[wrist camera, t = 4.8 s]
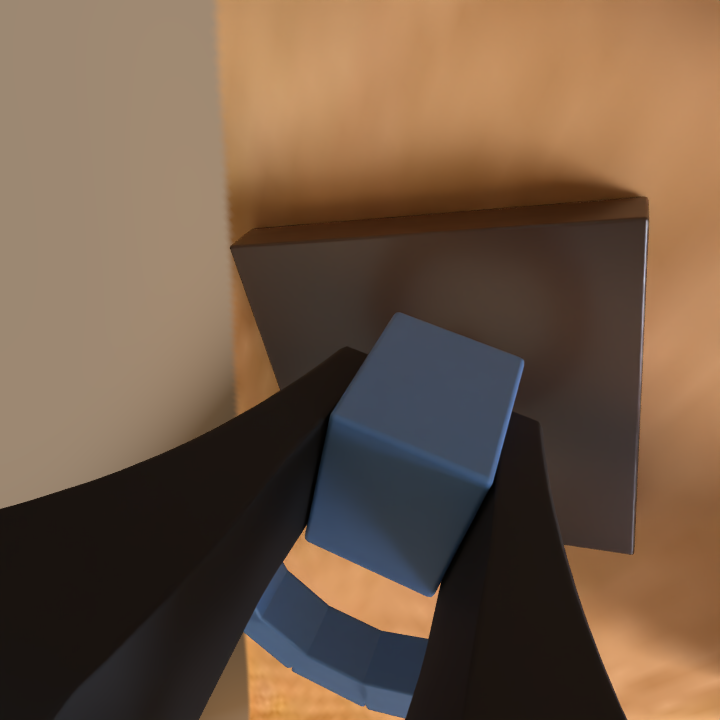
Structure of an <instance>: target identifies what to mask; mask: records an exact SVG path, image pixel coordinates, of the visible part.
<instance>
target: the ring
mask: <svg viewBox="0 0 720 720" xmlns="http://www.w3.org/2000/svg"><path fill="white" fill-rule="evenodd" d="M523 368H524V360H523V359H522V358H520V357H518V356H515V355H512V354H510V353H507V352H504V351H502V350H499V349H496V348H494V347H491V346H488V345H486V344H483V343H480V342H478V341H475V340H472V339H470V338H467V337H464V336H462V335H459V334H456V333H454V332H451V331H448V330H446V329H443V328H440V327H438V326H435V325H432V324H430V323H427V322H425V321H422V320H419V319H417V318H414V317H411V316H409V315H406V314H403V313H401V312H397V313H395V314H394V315H393V317H392V318H391V320H390V322H389V323H388V325H387V326H386V328H385V329H384V331H383V333H382V334H381V336H380V337H379V339H378V340H377V342H376V344H375V345H374V347H373V348H372V350H371V351H370V353H369V355H368V356H367V358H366V359H365V361H364V362H363V364H362V365H361V367H360V369H359V370H358V372H357V373H356V375H355V376H354V378H353V380H352V381H351V383H350V384H349V386H348V387H347V389H346V391H345V392H344V394H343V395H342V397H341V398H340V400H339V402H338V403H337V405H336V406H335V408H334V409H333V411H332V413H331V414H330V417H329V422H328V427H327V432H326V436H325V441H324V446H323V451H322V456H321V461H320V465H319V470H318V475H317V480H316V485H315V489H314V494H313V499H312V504H311V509H310V513H309V518H308V523H307V528H306V533H305V539H306V540H307V541H308V542H310V543H312V544H314V545H317V546H319V547H321V548H323V549H325V550H327V551H330V552H332V553H334V554H336V555H338V556H340V557H343V558H345V559H347V560H349V561H351V562H353V563H356V564H358V565H360V566H362V567H364V568H366V569H369V570H371V571H373V572H375V573H377V574H379V575H382V576H384V577H386V578H388V579H390V580H392V581H395V582H397V583H399V584H401V585H403V586H405V587H408V588H410V589H412V590H414V591H416V592H418V593H421V594H423V595H425V596H427V597H432V596H433V595H434V594H435V592H436V590H437V588H438V587H439V585H440V583H441V581H442V579H443V577H444V575H445V573H446V571H447V569H448V567H449V566H450V564H451V562H452V560H453V558H454V556H455V554H456V552H457V550H458V548H459V546H460V545H461V543H462V541H463V539H464V537H465V535H466V533H467V531H468V529H469V527H470V526H471V524H472V522H473V520H474V518H475V516H476V514H477V512H478V510H479V508H480V506H481V505H482V503H483V501H484V499H485V497H486V495H487V493H488V491H489V489H490V487H491V485H492V484H493V480H494V477H495V473H496V469H497V465H498V462H499V458H500V454H501V450H502V447H503V443H504V439H505V435H506V432H507V428H508V424H509V420H510V416H511V413H512V409H513V405H514V401H515V398H516V394H517V390H518V386H519V383H520V379H521V375H522V371H523ZM243 632H244V633H245V634H247V635H248V636H249V637H250V638H252V639H253V640H254V641H255V642H256V643H258V644H259V645H260V646H261V647H262V648H264V649H265V650H266V651H267V652H269V653H270V654H271V655H272V656H273V657H275V658H276V659H277V660H278V661H279V662H281V663H282V664H283V665H284V666H286V667H287V668H290V667H292V671H293V672H295V673H297V674H299V675H301V676H303V677H305V678H307V679H309V680H311V681H313V682H315V683H317V684H319V685H321V686H322V687H324V688H326V689H328V690H330V691H332V692H334V693H336V694H338V695H340V696H342V697H344V698H346V699H348V700H350V701H352V702H354V703H356V704H358V705H360V706H365V705H366V706H367V708H368V709H369V710H373V711H377V712H381V713H385V714H389V715H393V716H397V717H401V718H406V715H407V712H408V709H409V706H410V703H411V700H412V697H413V693H414V690H415V687H416V684H417V681H418V678H419V675H420V671H421V667H422V664H423V660H424V656H425V652H426V648H427V644H428V639H425V638H420V637H414V636H408V635H402V634H397V633H391V632H385V631H381V630H378V629H376V628H374V627H372V626H370V625H368V624H366V623H364V622H362V621H360V620H358V619H356V618H353V617H351V616H349V615H347V614H345V613H343V612H341V611H339V610H337V609H335V608H333V607H330V606H329V605H327V604H326V603H325V602H324V601H323V600H322V599H321V598H319V597H318V596H317V595H316V594H315V593H314V592H312V591H311V590H310V589H309V588H308V587H307V586H305V585H304V584H303V583H302V582H301V581H300V580H298V579H297V578H296V577H295V576H294V575H293V574H292V573H290V572H289V571H288V570H287V569H286V567H285V565H284V563H283V562H282V564H281V565H280V567H279V569H278V570H277V572H276V573H275V575H274V576H273V578H272V580H271V581H270V583H269V585H268V587H267V588H266V590H265V592H264V593H263V595H262V597H261V599H260V601H259V602H258V604H257V606H256V608H255V610H254V612H253V614H252V616H251V618H250V620H249V622H248V624H247V626H246V627H245V629H244V631H243Z"/></svg>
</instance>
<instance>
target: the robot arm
mask: <svg viewBox="0 0 720 720" xmlns="http://www.w3.org/2000/svg"><path fill="white" fill-rule="evenodd" d="M367 356H368V354H366V353H363V352H361V351H358V350H356V349H353V348H351V347H348V346H346V347H343V348H341V349H339V350H338V351H337V352H335V353H334V354H333V355H331V356H330V357H329V358H327V359H326V360H325V361H323V362H322V363H320V364H319V365H318V366H316V367H315V368H313V369H312V370H311V371H309V372H308V373H306V374H305V375H303V376H302V377H300V378H299V379H297V380H296V381H294V382H293V383H291V384H290V385H288V386H287V387H285V388H284V389H282V390H280V391H279V392H277V393H276V394H274V395H272V396H271V397H269V398H268V399H266V400H265V401H263V402H261V403H260V404H258V405H256V406H255V407H253V408H251V409H249V410H248V411H246V412H244V413H242V414H240V415H239V416H237V417H235V418H233V419H231V420H230V421H228V422H226V423H224V424H222V425H221V426H219V427H217V428H215V429H213V430H211V431H209V432H207V433H205V434H203V435H201V436H199V437H197V438H195V439H193V440H191V441H189V442H187V443H185V444H182V445H180V446H178V447H176V448H174V449H171V450H169V451H167V452H165V453H163V454H160V455H158V456H155V457H153V458H150V459H148V460H146V461H143V462H140V463H138V464H135V465H133V466H131V467H128V468H126V469H123V470H121V471H118V472H115V473H113V474H110V475H107V476H104V477H102V478H99V479H96V480H93V481H90V482H87V483H84V484H81V485H78V486H75V487H71V488H68V489H65V490H62V491H59V492H56V493H53V494H49V495H46V496H43V497H40V498H37V499H34V500H30V501H27V502H24V503H20V504H17V505H14V506H10V507H6V508H2V509H0V720H199V718H200V716H201V714H202V712H203V710H204V708H205V706H206V704H207V702H208V700H209V698H210V696H211V694H212V692H213V690H214V688H215V686H216V684H217V682H218V680H219V678H220V676H221V674H222V672H223V670H224V668H225V666H226V664H227V663H228V660H229V658H230V657H231V655H232V653H233V651H234V649H235V647H236V645H237V643H238V641H239V639H240V637H241V635H242V633H243V631H244V629H245V627H246V626H247V624H248V622H249V620H250V618H251V616H252V614H253V612H254V610H255V608H256V606H257V604H258V602H259V601H260V599H261V597H262V595H263V593H264V592H265V590H266V588H267V587H268V585H269V583H270V581H271V580H272V578H273V576H274V575H275V573H276V572H277V570H278V569H279V567H280V565H281V564H282V562H283V561H284V559H285V558H286V556H287V555H288V553H289V552H290V550H291V548H292V547H293V545H294V544H295V542H296V541H297V539H298V538H299V536H300V535H301V533H302V531H303V530H304V528H305V527H306V525H307V523H308V518H309V513H310V509H311V504H312V499H313V494H314V489H315V485H316V480H317V475H318V470H319V465H320V461H321V456H322V451H323V446H324V441H325V436H326V432H327V427H328V422H329V417H330V414H331V413H332V411H333V409H334V408H335V406H336V405H337V403H338V402H339V400H340V398H341V397H342V395H343V394H344V392H345V391H346V389H347V387H348V386H349V384H350V383H351V381H352V380H353V378H354V376H355V375H356V373H357V372H358V370H359V369H360V367H361V365H362V364H363V362H364V361H365V359H366V358H367ZM405 720H627V718H626V716H625V714H624V712H623V710H622V708H621V705H620V703H619V701H618V699H617V696H616V694H615V691H614V689H613V686H612V684H611V682H610V679H609V677H608V674H607V672H606V669H605V667H604V665H603V662H602V660H601V657H600V655H599V652H598V649H597V647H596V644H595V641H594V639H593V636H592V633H591V631H590V628H589V625H588V622H587V619H586V617H585V614H584V611H583V608H582V605H581V602H580V599H579V596H578V593H577V589H576V586H575V583H574V579H573V576H572V573H571V569H570V566H569V563H568V559H567V555H566V552H565V548H564V544H563V540H562V536H561V532H560V528H559V524H558V519H557V515H556V511H555V506H554V502H553V497H552V492H551V487H550V481H549V475H548V469H547V463H546V456H545V448H544V438H543V428H542V426H541V424H540V422H539V421H536V420H534V419H531V418H529V417H526V416H524V415H521V414H518V413H516V412H513V411H512V413H511V416H510V420H509V424H508V428H507V432H506V435H505V439H504V443H503V447H502V450H501V454H500V458H499V462H498V465H497V469H496V473H495V477H494V480H493V484H492V485H491V487H490V489H489V491H488V493H487V495H486V497H485V499H484V501H483V503H482V505H481V506H480V508H479V510H478V512H477V514H476V516H475V518H474V520H473V522H472V524H471V526H470V527H469V529H468V531H467V533H466V535H465V537H464V539H463V541H462V543H461V545H460V546H459V548H458V550H457V552H456V554H455V556H454V558H453V560H452V562H451V564H450V566H449V567H448V569H447V571H446V573H445V575H444V577H443V579H442V581H441V585H440V590H439V594H438V599H437V603H436V608H435V612H434V617H433V621H432V626H431V630H430V635H429V639H428V644H427V648H426V652H425V656H424V660H423V664H422V667H421V671H420V675H419V678H418V681H417V684H416V687H415V690H414V693H413V697H412V700H411V703H410V706H409V709H408V712H407V715H406V718H405Z"/></svg>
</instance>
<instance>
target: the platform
mask: <svg viewBox="0 0 720 720" xmlns="http://www.w3.org/2000/svg"><path fill="white" fill-rule="evenodd" d="M648 233H649V203H648V198H647V197H636V198H623V199H611V200H599V201H587V202H575V203H562V204H550V205H538V206H526V207H514V208H501V209H489V210H477V211H465V212H453V213H440V214H428V215H416V216H404V217H392V218H380V219H367V220H355V221H343V222H331V223H319V224H306V225H294V226H282V227H270V228H258V229H252V230H250V231H249V232H248V233H247V234H245V235H244V236H243V237H241V238H240V239H239V240H238V241H236V242H235V243H234V244H232V245H231V246H230V249H231V252H232V255H233V258H234V261H235V263H236V266H237V269H238V272H239V275H240V278H241V280H242V283H243V286H244V289H245V292H246V295H247V297H248V300H249V303H250V306H251V309H252V312H253V314H254V317H255V320H256V323H257V326H258V328H259V331H260V334H261V337H262V340H263V343H264V345H265V348H266V351H267V354H268V357H269V360H270V362H271V365H272V368H273V371H274V374H275V377H276V379H277V382H278V385H279V388H280V390H282V389H284V388H285V387H287V386H288V385H290V384H291V383H293V382H294V381H296V380H297V379H299V378H300V377H302V376H303V375H305V374H306V373H308V372H309V371H311V370H312V369H313V368H315V367H316V366H318V365H319V364H320V363H322V362H323V361H325V360H326V359H327V358H329V357H330V356H331V355H333V354H334V353H335V352H337V351H338V350H339V349H341V348H343V347H346V346H348V347H351V348H353V349H356V350H358V351H361V352H363V353H366V354H368V355H369V353H370V351H371V350H372V348H373V347H374V345H375V344H376V342H377V340H378V339H379V337H380V336H381V334H382V333H383V331H384V329H385V328H386V326H387V325H388V323H389V322H390V320H391V318H392V317H393V315H394V314H395V313H397V312H401V313H403V314H406V315H409V316H411V317H414V318H417V319H419V320H422V321H425V322H427V323H430V324H432V325H435V326H438V327H440V328H443V329H446V330H448V331H451V332H454V333H456V334H459V335H462V336H464V337H467V338H470V339H472V340H475V341H478V342H480V343H483V344H486V345H488V346H491V347H494V348H496V349H499V350H502V351H504V352H507V353H510V354H512V355H515V356H518V357H520V358H522V359H523V360H524V368H523V371H522V375H521V379H520V383H519V386H518V390H517V394H516V398H515V401H514V405H513V409H512V411H513V412H516V413H518V414H521V415H524V416H526V417H529V418H531V419H534V420H536V421H539V422H540V424H541V426H542V428H543V438H544V448H545V456H546V463H547V469H548V475H549V481H550V487H551V492H552V497H553V502H554V506H555V511H556V515H557V519H558V524H559V528H560V532H561V536H562V540H563V544H564V545H569V546H576V547H583V548H589V549H596V550H603V551H609V552H616V553H623V554H630V555H633V554H634V547H635V524H636V502H637V479H638V457H639V435H640V412H641V390H642V367H643V345H644V322H645V300H646V278H647V255H648Z"/></svg>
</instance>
